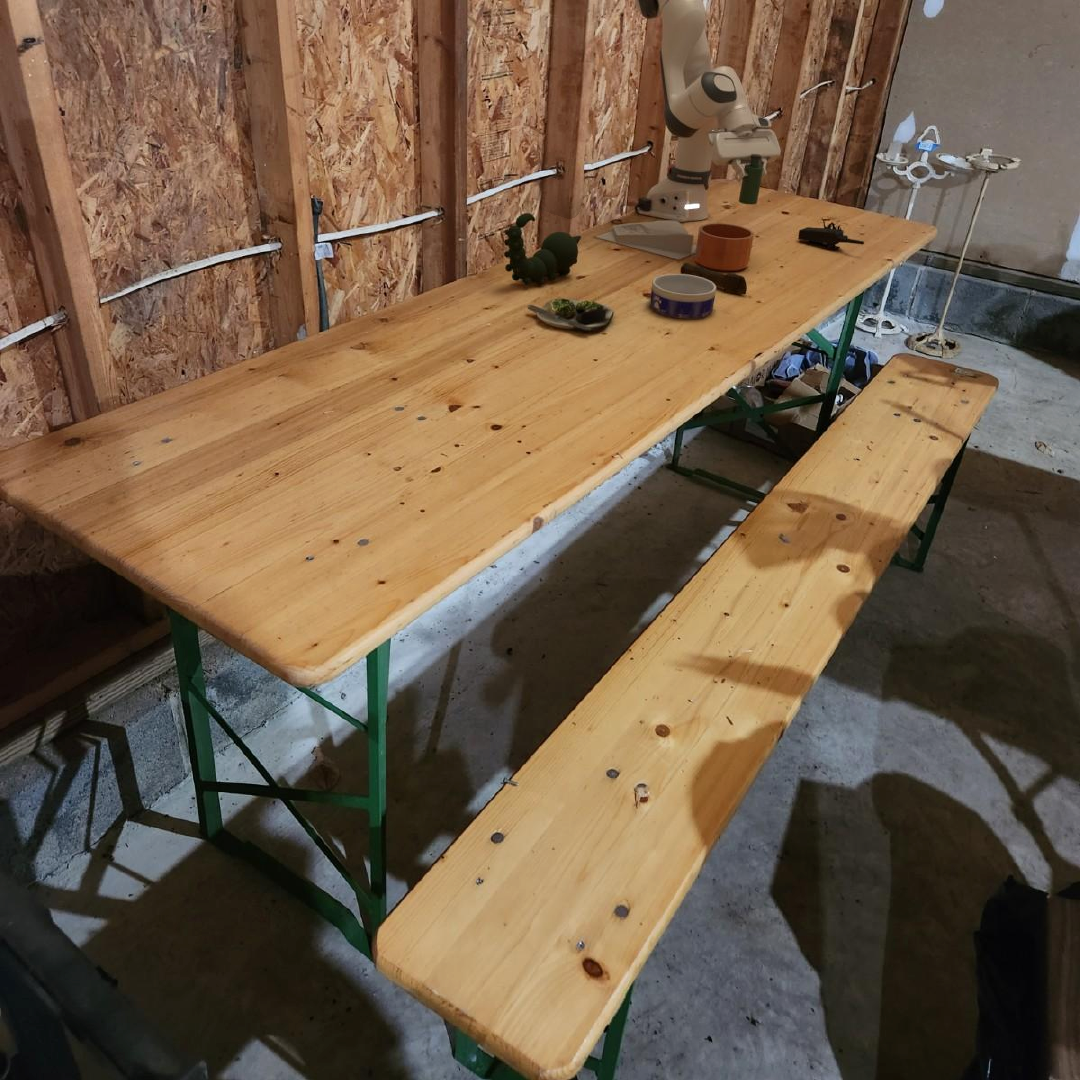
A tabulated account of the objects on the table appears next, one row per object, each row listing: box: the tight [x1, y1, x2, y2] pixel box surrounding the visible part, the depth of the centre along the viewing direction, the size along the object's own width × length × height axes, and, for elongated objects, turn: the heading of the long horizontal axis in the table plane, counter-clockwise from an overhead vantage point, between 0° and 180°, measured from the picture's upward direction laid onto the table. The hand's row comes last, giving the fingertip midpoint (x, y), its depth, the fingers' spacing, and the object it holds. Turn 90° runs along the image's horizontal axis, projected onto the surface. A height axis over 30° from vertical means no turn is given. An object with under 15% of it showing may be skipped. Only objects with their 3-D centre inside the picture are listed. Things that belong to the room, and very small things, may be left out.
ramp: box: [595, 220, 697, 261], centre depth 266 cm, size 28×16×5 cm, turn 53°
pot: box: [694, 222, 755, 272], centre depth 252 cm, size 15×15×9 cm
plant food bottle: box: [738, 154, 763, 206], centre depth 242 cm, size 5×5×12 cm
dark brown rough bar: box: [679, 262, 748, 295], centre depth 237 cm, size 19×4×5 cm, turn 48°
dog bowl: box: [649, 273, 717, 320], centre depth 223 cm, size 15×15×6 cm
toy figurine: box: [503, 212, 582, 287], centre depth 230 cm, size 9×19×25 cm
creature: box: [821, 217, 845, 234], centre depth 283 cm, size 8×5×8 cm
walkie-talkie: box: [797, 226, 865, 251], centre depth 271 cm, size 6×6×20 cm
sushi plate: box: [526, 297, 615, 334], centre depth 213 cm, size 19×18×5 cm
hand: (753, 176), depth 241 cm, fingers closed on plant food bottle, 5 cm apart
